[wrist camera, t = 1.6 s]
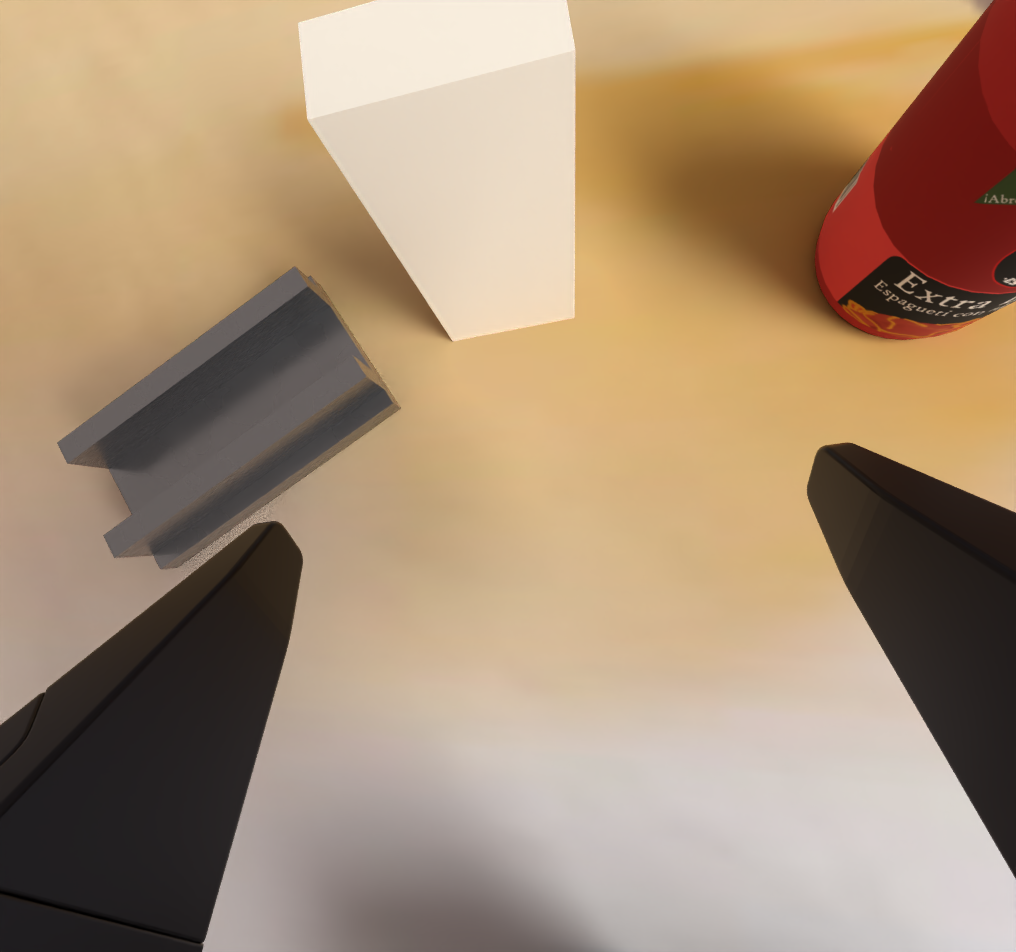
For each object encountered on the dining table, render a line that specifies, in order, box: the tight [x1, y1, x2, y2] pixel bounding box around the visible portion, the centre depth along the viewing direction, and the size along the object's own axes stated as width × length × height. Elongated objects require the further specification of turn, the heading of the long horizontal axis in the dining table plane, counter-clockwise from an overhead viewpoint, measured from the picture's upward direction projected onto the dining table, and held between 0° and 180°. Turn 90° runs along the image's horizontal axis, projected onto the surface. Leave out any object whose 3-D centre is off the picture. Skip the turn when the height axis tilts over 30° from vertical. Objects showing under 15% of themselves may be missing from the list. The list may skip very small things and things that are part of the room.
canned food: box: [815, 0, 1016, 340], centre depth 16 cm, size 8×8×11 cm
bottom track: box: [57, 267, 400, 569], centre depth 23 cm, size 8×14×3 cm, turn 124°
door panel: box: [298, 0, 575, 341], centre depth 17 cm, size 3×6×13 cm, turn 98°
